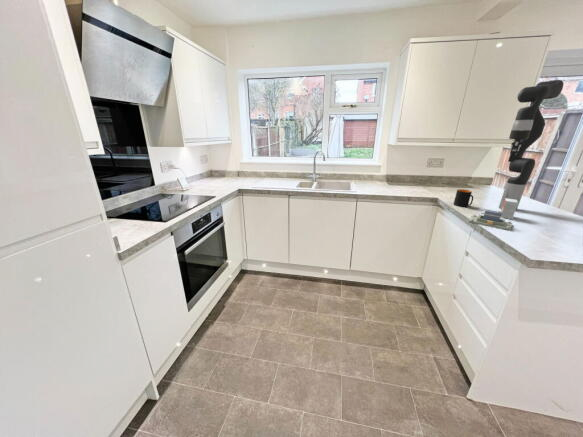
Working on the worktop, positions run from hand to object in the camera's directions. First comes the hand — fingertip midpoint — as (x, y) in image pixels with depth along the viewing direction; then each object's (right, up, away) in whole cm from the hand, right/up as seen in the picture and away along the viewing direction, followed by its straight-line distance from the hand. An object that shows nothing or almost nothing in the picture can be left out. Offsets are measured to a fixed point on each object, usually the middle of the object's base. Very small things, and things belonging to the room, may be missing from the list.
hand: (510, 161), depth 127 cm
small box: (+10, -31, +14) cm, 35 cm away
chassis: (-9, -34, +3) cm, 36 cm away
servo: (-9, -33, +3) cm, 35 cm away
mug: (-1, -23, +34) cm, 41 cm away
